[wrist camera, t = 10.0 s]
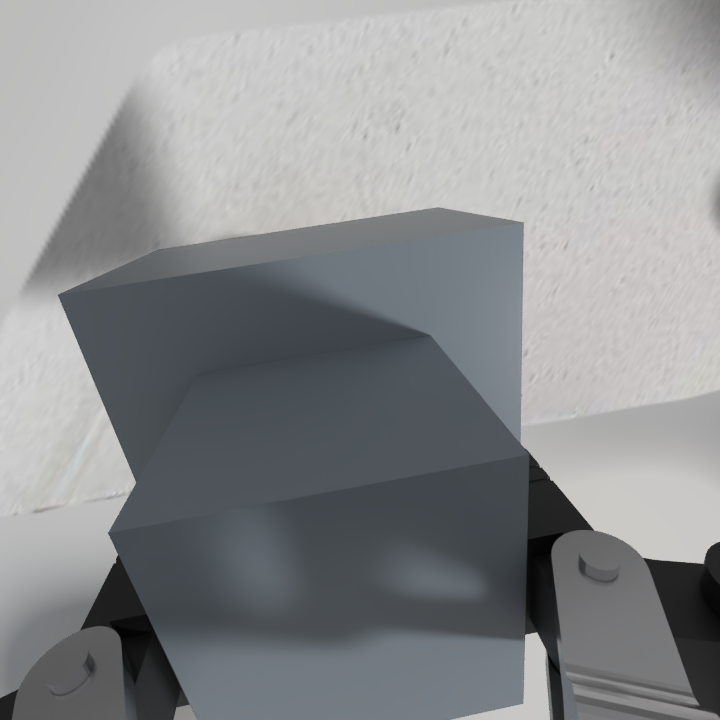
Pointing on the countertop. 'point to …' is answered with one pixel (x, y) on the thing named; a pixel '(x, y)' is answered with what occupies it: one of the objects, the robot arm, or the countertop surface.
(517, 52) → the countertop surface
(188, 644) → the gray stepped step block
